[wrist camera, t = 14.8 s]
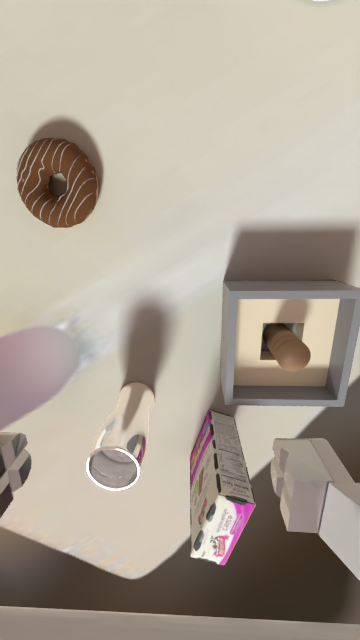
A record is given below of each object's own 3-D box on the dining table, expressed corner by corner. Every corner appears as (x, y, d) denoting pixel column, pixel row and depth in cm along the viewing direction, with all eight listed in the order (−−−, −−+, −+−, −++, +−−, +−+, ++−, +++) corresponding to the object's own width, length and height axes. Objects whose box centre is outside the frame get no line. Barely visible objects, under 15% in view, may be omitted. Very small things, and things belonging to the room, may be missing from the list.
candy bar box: (215, 464, 50) (225, 568, 35) (189, 457, 50) (187, 558, 35) (236, 416, 47) (258, 506, 31) (209, 408, 47) (217, 495, 31)
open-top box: (223, 280, 40) (229, 291, 33) (334, 280, 39) (366, 290, 32) (219, 377, 45) (225, 404, 38) (319, 378, 44) (343, 406, 37)
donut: (116, 209, 38) (107, 206, 34) (52, 240, 40) (37, 240, 36) (78, 127, 35) (65, 114, 31) (11, 164, 37) (-10, 156, 33)
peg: (263, 322, 41) (278, 341, 33) (290, 321, 40) (312, 341, 33) (261, 347, 42) (276, 371, 34) (288, 346, 42) (309, 371, 34)
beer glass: (144, 373, 45) (122, 437, 31) (164, 405, 47) (152, 480, 33) (109, 389, 47) (72, 458, 32) (130, 420, 48) (103, 498, 34)
